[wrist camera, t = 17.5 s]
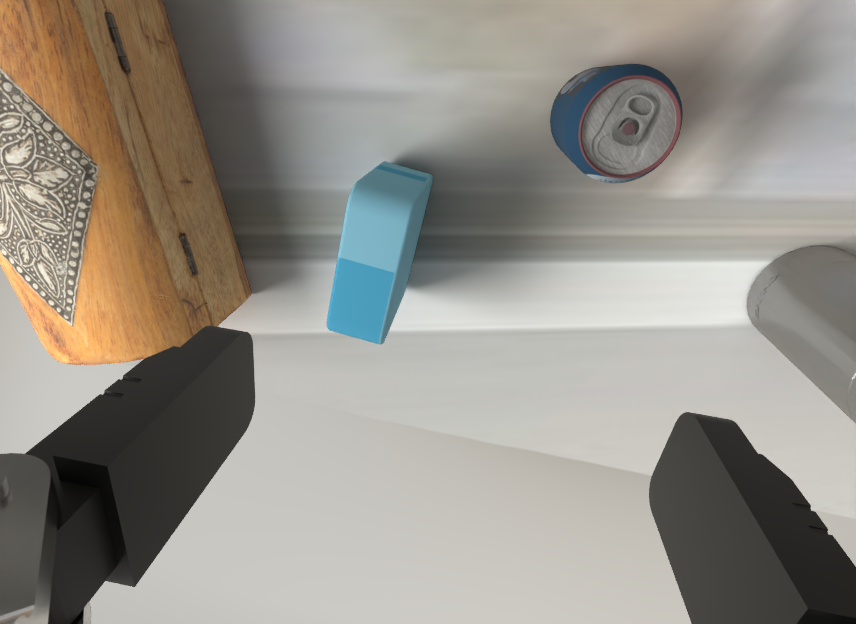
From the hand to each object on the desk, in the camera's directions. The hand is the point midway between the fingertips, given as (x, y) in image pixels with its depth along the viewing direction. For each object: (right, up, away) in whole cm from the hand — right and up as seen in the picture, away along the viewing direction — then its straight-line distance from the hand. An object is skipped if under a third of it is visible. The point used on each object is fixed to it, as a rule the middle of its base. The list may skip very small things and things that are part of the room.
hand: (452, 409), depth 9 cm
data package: (-3, +10, +36) cm, 38 cm away
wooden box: (-28, +17, +37) cm, 49 cm away
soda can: (+13, +18, +30) cm, 37 cm away
